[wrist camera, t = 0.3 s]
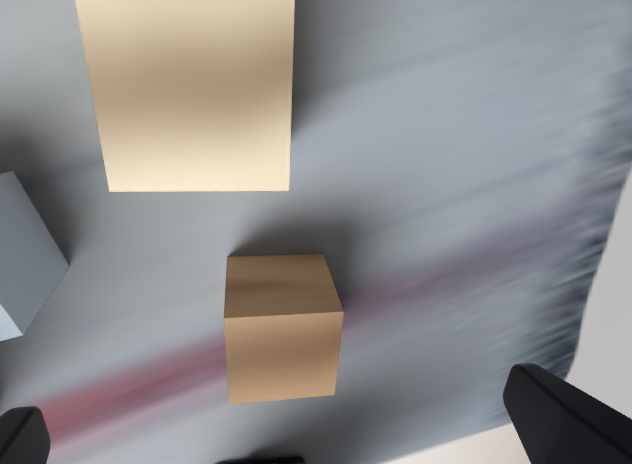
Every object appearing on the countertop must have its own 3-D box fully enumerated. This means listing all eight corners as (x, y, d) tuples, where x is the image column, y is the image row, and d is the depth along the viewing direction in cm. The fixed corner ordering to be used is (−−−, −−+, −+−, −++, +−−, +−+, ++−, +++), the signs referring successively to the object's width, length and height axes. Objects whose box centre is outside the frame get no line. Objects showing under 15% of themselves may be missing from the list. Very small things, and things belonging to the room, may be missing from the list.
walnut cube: (317, 326, 24) (334, 395, 20) (230, 332, 23) (228, 404, 19) (323, 253, 22) (343, 311, 18) (227, 255, 21) (223, 318, 17)
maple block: (277, 151, 19) (289, 190, 15) (140, 149, 18) (109, 191, 14) (280, 3, 16) (294, -2, 12) (119, -8, 15) (72, -18, 11)
